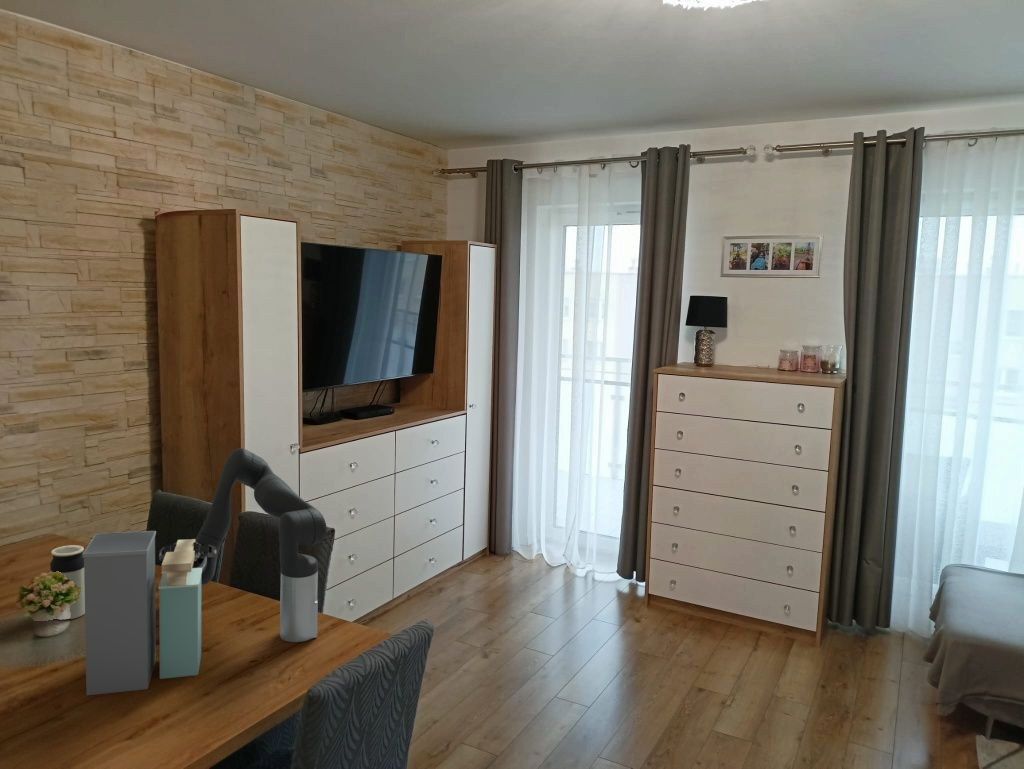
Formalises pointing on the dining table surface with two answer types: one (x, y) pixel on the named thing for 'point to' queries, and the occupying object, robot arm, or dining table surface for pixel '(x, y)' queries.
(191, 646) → the tall pale green pillar
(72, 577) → the travel mug
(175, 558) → the beige stepped bar
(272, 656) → the dining table surface
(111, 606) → the stand
